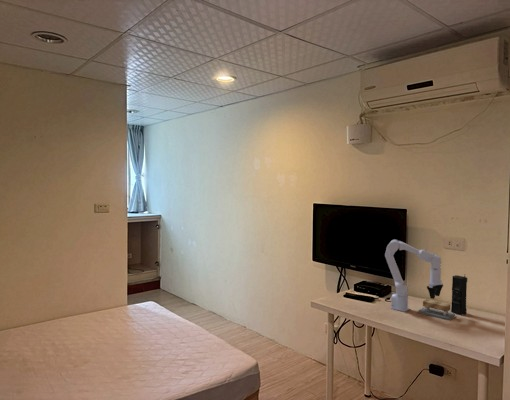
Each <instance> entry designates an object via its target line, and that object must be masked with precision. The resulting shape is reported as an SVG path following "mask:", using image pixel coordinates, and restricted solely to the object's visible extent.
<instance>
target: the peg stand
mask: <svg viewBox="0 0 510 400" xmlns="http://www.w3.org/2000/svg"><path fill="white" fill-rule="evenodd" d="M417 314H420V315H426V316H430V317H434V318H437V319H440V320H445V321H451V320H452V319H453V318H455V317H456V313H452V312H449V311H447V312H446V311H442V310H438V309H433V308H429V307H425V306H423V307H422V308H421V309H419V310H417Z"/></svg>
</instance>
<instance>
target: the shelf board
mask: <svg viewBox="0 0 510 400" xmlns="http://www.w3.org/2000/svg"><path fill="white" fill-rule="evenodd" d="M422 306H423V307H429V308H430V309H435V310H439V311H446V312H447V311H448V312H449V311H450V310H451V304H450V303H446V302H439V301H435V300H433V299H425V300H423V301H422Z"/></svg>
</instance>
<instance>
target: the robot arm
mask: <svg viewBox="0 0 510 400" xmlns="http://www.w3.org/2000/svg"><path fill="white" fill-rule="evenodd" d="M385 249H386V250H385V253H384V257H385V260H386V263H387V265H388V268H389V270H390V273H391V275H392V279H393V281H394V286H395V293H392V295H391V297H390V309H392V310H395V311H399V312H404V313H405V312H407V311H409V310H411V308H410V307H409V304H408V303H409V301H408V300H409V296H408V295H409V294H408V292H407V291H408V290H409V289H408V286H407V284H406V283H405V282H404V281H405V280H403V278H402V275H401V272H400V269H399V267H398V265H397V263H396V260H395V256H394V255H395V253H396V252H397V251H398V250H399V251H403V250H404V251H406V252H409V253H412V254H415V255H417V257H418V259H421V260H422V261H425V262H427V263H430V269H429V270H430V272H429V273H430V274H429V283H428V285H427V286H426V289H427V291H428V294H429V297H430V299H431V300H435V297H440V295H441V291H442V288H443V287H444V284H443V283H442V279H441V277H442V275H441V274H442V271H441V270H442V268H441V267H442V258H441V257H440V256H439V255H438V254H435V253H434V252H433V253H431V252H430V251H427V249H417V248H415V247H413V246H411V245H410V244H408V243H405V242H404V241H401V240H398V239H392V240H391V241H390V242H389V243H388V244H387V246H386V248H385Z"/></svg>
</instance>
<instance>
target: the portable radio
mask: <svg viewBox="0 0 510 400" xmlns="http://www.w3.org/2000/svg"><path fill="white" fill-rule="evenodd" d="M451 281H452V284H451V305H450V310H451V311H450V313H452V314H455V315H456V314H457V315H460V316H463V315H466V314H467V287H468V286H467V285H468V277H466V275H464V276H462V275H457V274H456V275H453V276H452V279H451Z"/></svg>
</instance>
